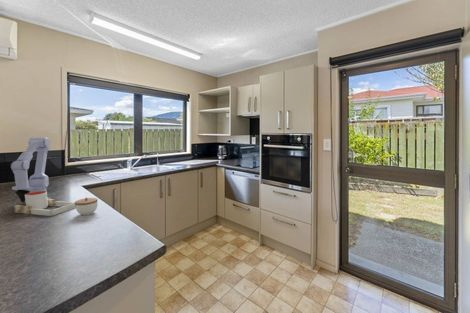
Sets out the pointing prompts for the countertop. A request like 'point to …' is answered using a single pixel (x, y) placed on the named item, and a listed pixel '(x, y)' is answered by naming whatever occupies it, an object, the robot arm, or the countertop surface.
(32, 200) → the cup
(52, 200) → the bay
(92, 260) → the countertop surface
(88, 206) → the lidded jar
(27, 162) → the robot arm
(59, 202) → the dock
